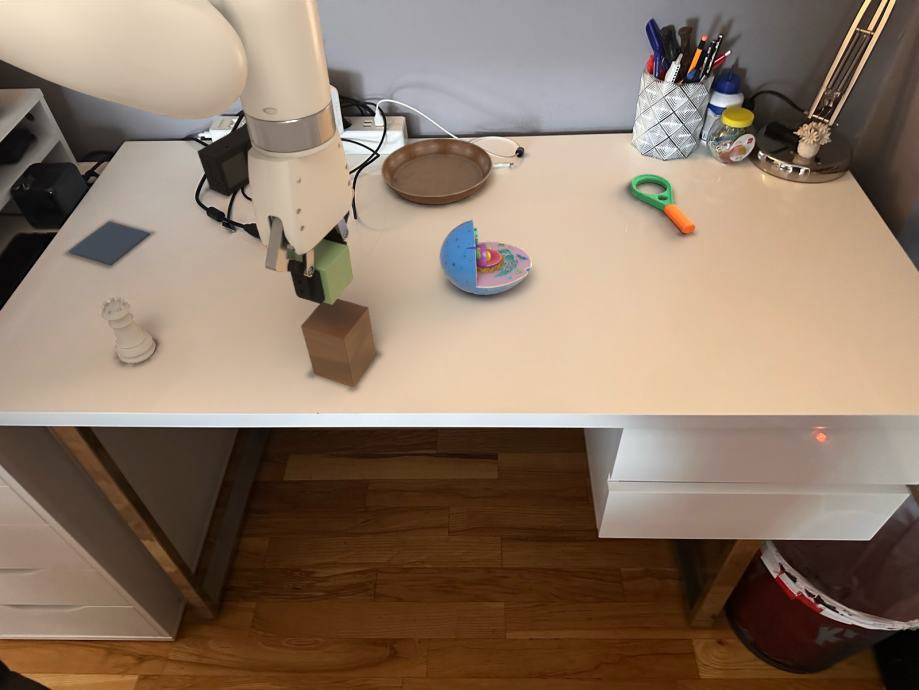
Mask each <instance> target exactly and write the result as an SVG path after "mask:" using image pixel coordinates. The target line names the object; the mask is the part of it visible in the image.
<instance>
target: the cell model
mask: <svg viewBox="0 0 919 690" xmlns="http://www.w3.org/2000/svg"><path fill="white" fill-rule="evenodd" d="M474 223H475V222H474V220H473V219H470V220H467V221H463V222H462V223H460V224H458V225H457V226H456V227H454V228H452V229H451V230H450V232H448V234H447V235H446V237H445V238H444V239H443V241H442V244H441V246H440V249H439V264H440V267H441V270H442V272H443V274H444V275H445V277H446V278H447V279H448V280H449V282H450V283H451V284H452V285H454V286H455V287H456V288H458V289H460V290H462V291H463V292H467V293H468V294H469V293H470V294H474V295H479V296H481V295H482V296H489V295H496V294H499V293H503V292H506V291H508V290H510V289H512V288H514V287H515V286H517V285H518V284H520V283H521V282H522V281H523V280H524V279H526V277H527V276H528V274H529V272H530V270H531V268H532V264H533V261H532V258H531V256H530V255H529V253H527V252H526V251H525V250H524V249H523V248H524V247H522V246H519V247H518V246H517V245H513V244H510V243H505V242H499V241H479V232H478V227H475V225H474Z"/></svg>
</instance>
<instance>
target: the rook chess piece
mask: <svg viewBox="0 0 919 690" xmlns="http://www.w3.org/2000/svg"><path fill="white" fill-rule="evenodd" d="M131 308H132V306H131V303H130V302H128V301H125V300H124V299H123V298H122V297H119V296H117V297H116V299H115V297H110V298H109V302H108V301H106V300H104V301H103V303H102V306H101V315H100V316H101V318H103V319H104V320H107V321H108V326H109V327H110V328H112V330H113V331H114V334H115V336H116V340H115V343H116V344H115V351H116V354H117V357H118V359H119V360H120V361H121V362H123V363H128V364H130V365H131V364H139V363H142V362H144V361H146V360H148V359H149V358H151V356H152V355H153V354H154V352H155V350H156V346H157V345H156V341H155V340H154V339H153V337H152V336H151V334H150V333H148V332H147V331H145V330H143V329H142V328H140V327H139V325H138V324H137V323H136V322H135V320H134V314H133V313H132V312H130V311H131Z"/></svg>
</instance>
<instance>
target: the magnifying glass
mask: <svg viewBox="0 0 919 690" xmlns="http://www.w3.org/2000/svg"><path fill="white" fill-rule="evenodd" d="M644 183H653V184H657V185H660V186H662V187H663V188H664V189H665V191H664V192H660V193H647V192H644V191H641V190H640V189H638V188H637V186H639V185H641V184H644ZM630 193H631V194H632V196H634V197H635V198H636V199H638V200H640V201H642V202H644V203H646V204H648V205H650V206H652V207H654V208H656V209H659V210H661V211H662V212H664V214H665V215H666V216H667V217H668V218H669V219H670V220H671V221H672V222H673V223H674V224H675V225H676V227H677V228H678V229H679V230H680V231H681V232H682V233H683V234H690V233H692V232H694V230H695V229H696V226H695V224H694V223H693V222H692V221H691V220H690V218H689V217H688V216H686V215H685V213H683V211H681V209H680V208H679V207H678V206H677V205H676V204H675V202H674V197H673V185H672V184H671V182H670V181H669V180H668V179H666V178H665V177H662V176H661V175H658V174H655V173H654V174H653V173H642V174H638V175H636V176H634V177H633V178H632V179H631V182H630Z"/></svg>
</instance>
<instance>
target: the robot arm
mask: <svg viewBox="0 0 919 690" xmlns="http://www.w3.org/2000/svg"><path fill="white" fill-rule="evenodd" d="M324 45H325V44H324V37H323V32H322V26H321V20H320V13H319V5H318V0H0V60H1V61H3V62H5V63H6V64H9V65H12V66H14V67H16V68H18V69H21V70H23V71H25V72H27V73H29V74H32V75H34V76H36V77H39V78H41V79H44V80H46V81H48V82H51V83H54V84H56V85H59V86H61V87H64V88H67V89H70V90H73V91H75V92H78V93H81V94H84V95H88V96H91V97H93V98H98V99H101V100H104V101H107V102H112V103H115V104H119V105H122V106H126V107H129V108H133V109H136V110H140V111H144V112H148V113H151V114H155V115H160V116H164V117H166V118H167V117H169V118H174V119H180V120H201V119H208V118H209V119H210V118H212V117H214V116H219V115H220V114H221V113H224V112H225V111H227V110H228V109H230V108H231V107H233V105H234V104H235V103H236V102H237V101H238V100H239V101H240V105H241V108H242V111H243V115H244V120H245V124H247V128H248V132H249V136H250V139H251V143H252V146H253V147H252V148H251V149H250V150H249V151H248V172H249V190H250V196H251V202H252V203H251V204H252V209H253V213H254V214H253V215H254V219H255V218H256V221H255V224H256V223H257V225H256V228H257V227H258V229H257V231H258V234H259V238H260V241H261V243H262V245H263V246H265V247H267V251H266V256H265V261H264V267H265V269H266V270H269V271H273V272H277V273H289V272H290V277H291V280H292V284H294V285H293V288H295V289H294V293H295V292H296V293H295V295H296V296H297V297H298V298H299V299H302V300H306V301H310V302H313V303H315V304H318V305H319V304H322V303H323V301H324V300H325V297H324V292H323V287H322V283H321V278H320V273H319V271H317V270H314V247H315V246H316V245H317V244H318V243H319V242H320V241H321V240H322V239H325V240H328V241H332V242H336V243H340V244H343V245H347V246H348V242H347V241H346V240H347V239H348V237H349V234H350V231H349V227H348V226H347V224H348V220H349V216H350V213H351V211H350V209H351V207H352V205H353V200H354V197H355V194H356V192H355V189H354V188H353V187H352V182H351V181H352V180H351V176H350V170H349V165H348V161H347V156H346V152H345V148H344V145H343V141H342V138H341V135H340V131H339V129H338V126H337V123H336V116H335V111H334V110H335V109H334V104H333V98H332V90H331V85H330V79H329V71H328V64H327V57H326V51H325V46H324ZM295 252H296V253H297V254H298V255H302V261H303V262H300V261H297V260H295Z"/></svg>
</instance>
